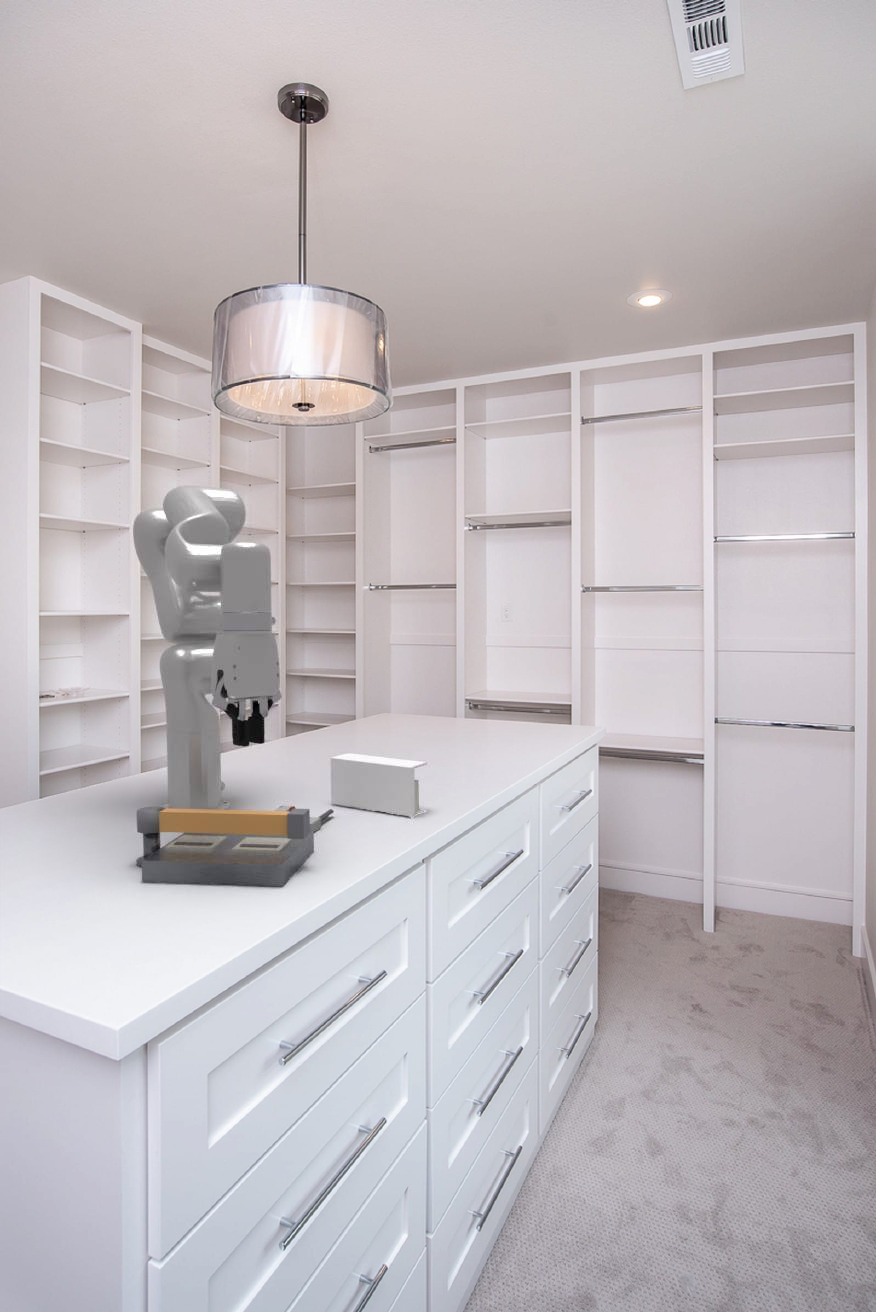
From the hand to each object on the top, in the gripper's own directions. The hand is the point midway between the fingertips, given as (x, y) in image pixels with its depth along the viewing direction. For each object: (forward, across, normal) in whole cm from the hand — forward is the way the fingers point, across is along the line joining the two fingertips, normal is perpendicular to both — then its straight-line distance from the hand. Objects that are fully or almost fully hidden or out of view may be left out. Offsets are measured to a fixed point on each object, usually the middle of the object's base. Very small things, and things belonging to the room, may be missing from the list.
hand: (248, 743), depth 119 cm
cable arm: (+12, +6, +1) cm, 14 cm away
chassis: (+17, +5, +3) cm, 18 cm away
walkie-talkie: (+18, -12, -4) cm, 22 cm away
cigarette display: (+17, -32, -3) cm, 37 cm away
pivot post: (+17, +12, -8) cm, 22 cm away
